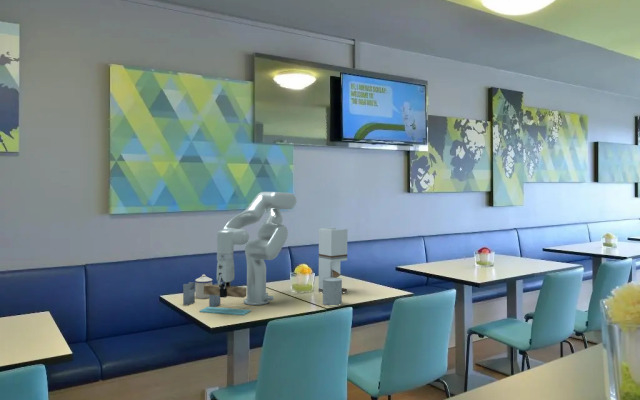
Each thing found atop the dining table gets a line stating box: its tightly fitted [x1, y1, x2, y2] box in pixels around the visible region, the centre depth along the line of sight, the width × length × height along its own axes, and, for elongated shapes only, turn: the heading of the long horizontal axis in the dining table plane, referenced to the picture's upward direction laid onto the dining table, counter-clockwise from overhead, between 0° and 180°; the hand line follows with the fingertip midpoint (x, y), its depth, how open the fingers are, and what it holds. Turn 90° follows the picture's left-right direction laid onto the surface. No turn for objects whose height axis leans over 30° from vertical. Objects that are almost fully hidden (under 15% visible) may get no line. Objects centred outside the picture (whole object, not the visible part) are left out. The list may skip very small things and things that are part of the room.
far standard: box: [182, 281, 196, 306], centre depth 249 cm, size 3×6×10 cm, turn 165°
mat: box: [198, 306, 252, 316], centre depth 234 cm, size 22×8×1 cm, turn 75°
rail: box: [204, 284, 247, 298], centre depth 233 cm, size 20×3×4 cm, turn 75°
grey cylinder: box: [322, 277, 343, 306], centre depth 250 cm, size 10×10×12 cm
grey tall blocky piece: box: [318, 227, 348, 294], centre depth 276 cm, size 11×11×35 cm
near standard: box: [208, 283, 221, 307], centre depth 245 cm, size 3×6×10 cm, turn 165°
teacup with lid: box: [194, 274, 214, 300], centre depth 265 cm, size 12×9×12 cm
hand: (225, 295), depth 233 cm, fingers closed on rail, 3 cm apart
